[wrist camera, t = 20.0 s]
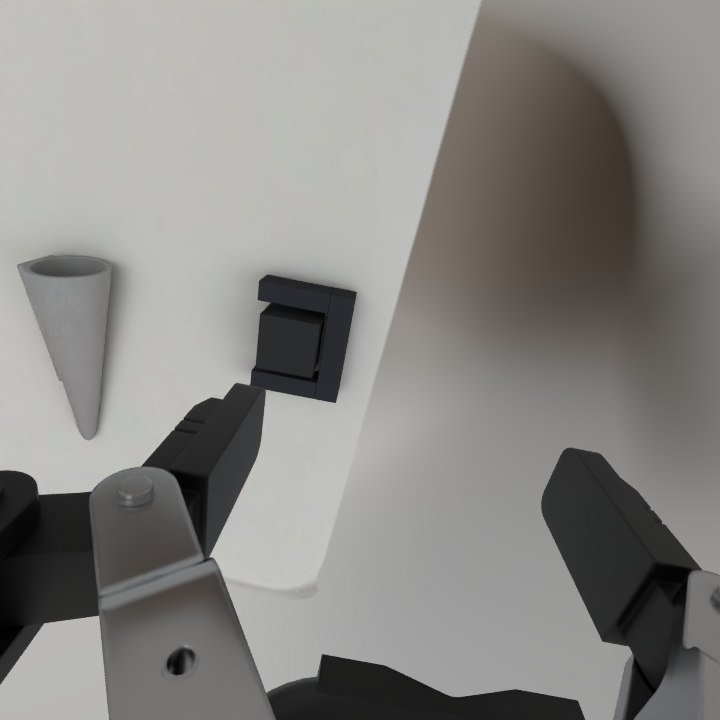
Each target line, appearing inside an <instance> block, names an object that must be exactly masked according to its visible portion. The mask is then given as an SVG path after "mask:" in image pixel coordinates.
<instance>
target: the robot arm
mask: <svg viewBox="0 0 720 720" xmlns="http://www.w3.org/2000/svg"><path fill="white" fill-rule="evenodd" d="M265 396H266V392H265V388H261V387H256V386H251V385H245V384H240V383H236V384H234V386H233V387H232V388H231V389H230V391H229V392H228V393H227V395H226V396H225V397H224V399H223V400H222V399H217V398H212V397H211V398H209V399H207V400H205V401H203V402H201V403H199V404H197V405H195V406H194V407H193V408H192V409H191V410H190V411H189V413H188V414H187V415H186V416H185V417H184V420H182V421H181V422H180V423H179V424H178V425H177V426H176V427H175V430H174V431H172V432H171V433H170V434H169V435H168V436H167V438H166V439H165V440H164V441H163V442H162V443H161V444H160V446H159V447H158V448H157V449H156V450H155V451H154V452H153V453H152V455H151V456H150V457H149V458H148V459H147V460H146V461H145V463H144V464H143V465H142V466H141V467H135V468H129V469H126V470H122V471H119V472H117V473H114V474H112V475H110V476H109V477H107V478H105V479H104V480H102V481H101V482H100V483H99V484H98V485H97V486H96V487H95V488H94V489H93V491H92V492H83V493H66V494H48V495H39V493H38V487H37V483H36V481H35V480H34V479H33V477H31V476H30V475H28V474H25V473H23V472H18V471H9V470H6V471H0V684H1V683H2V681H3V680H4V679H5V677H6V676H7V675H8V673H9V672H10V670H11V669H12V668H13V666H14V665H15V663H16V662H17V661H18V659H19V658H20V656H21V655H22V654H23V652H24V651H25V649H26V648H27V647H28V645H29V644H30V642H31V641H32V640H33V638H34V636H35V635H36V634H37V632H38V631H39V630H40V628H41V627H42V626H43V624H44V623H49V622H56V621H63V620H70V619H78V618H85V617H92V616H99V618H100V629H101V639H102V650H103V660H104V670H105V682H106V692H107V703H108V713H109V720H585V718H584V716H583V713H582V710H581V708H580V705H579V702H578V701H577V700H571V699H566V698H561V697H555V696H549V695H544V694H539V693H533V692H527V691H522V690H516V689H515V690H507V691H501V692H494V693H486V694H480V695H472V696H465V697H451V696H448V695H446V694H444V693H441V692H440V691H437V690H435V689H433V688H431V687H429V686H427V685H425V684H423V683H421V682H419V681H416V680H414V679H412V678H410V677H408V676H406V675H404V674H402V673H400V672H398V671H395V670H393V669H391V668H389V667H387V666H384V665H378V664H373V663H368V662H361V661H356V660H351V659H345V658H340V657H334V656H329V655H323V654H322V657H321V662H320V666H319V670H318V675H317V677H311V678H304V679H300V680H296V681H293V682H289V683H286V684H284V685H282V686H279V687H277V688H275V689H272V690H271V691H269V692H267V693H266V692H265V689H264V686H263V683H262V681H261V678H260V675H259V673H258V670H257V667H256V665H255V662H254V659H253V657H252V654H251V651H250V649H249V646H248V644H247V641H246V638H245V635H244V633H243V630H242V627H241V625H240V622H239V619H238V616H237V614H236V611H235V609H234V606H233V603H232V600H231V598H230V595H229V592H228V590H227V587H226V584H225V582H224V579H223V576H222V574H221V571H220V569H219V566H218V564H217V562H216V561H215V559H214V558H212V557H211V558H209V556H210V554H211V552H212V550H213V548H214V546H215V544H216V542H217V540H218V538H219V535H220V533H221V531H222V529H223V527H224V525H225V523H226V521H227V519H228V517H229V515H230V513H231V510H232V508H233V506H234V504H235V502H236V500H237V498H238V496H239V494H240V492H241V490H242V488H243V486H244V483H245V481H246V479H247V477H248V475H249V473H250V471H251V469H252V467H253V465H254V463H255V460H256V458H257V455H258V451H259V447H260V442H261V435H262V425H263V416H264V406H265ZM541 508H542V514H543V517H544V519H545V521H546V524H547V526H548V528H549V530H550V532H551V534H552V536H553V538H554V540H555V543H556V545H557V547H558V549H559V551H560V553H561V555H562V557H563V559H564V561H565V563H566V566H567V568H568V570H569V572H570V574H571V576H572V578H573V580H574V582H575V585H576V587H577V589H578V591H579V593H580V595H581V597H582V599H583V601H584V603H585V606H586V608H587V610H588V612H589V614H590V616H591V618H592V620H593V622H594V625H595V627H596V629H597V631H598V633H599V635H600V637H601V639H602V641H603V642H608V643H613V644H619V645H624V646H629V647H630V649H631V651H632V655H631V656H630V658H629V659H628V660H627V662H626V664H625V667H624V672H623V676H622V681H621V686H620V690H619V695H618V700H617V704H616V709H615V714H614V719H613V720H720V575H718V574H715V573H712V572H708V571H703V570H702V569H701V568H700V567H699V565H698V564H697V563H696V562H695V561H694V559H693V558H692V557H691V556H690V555H689V553H688V552H687V551H686V550H685V549H684V547H683V546H682V545H681V544H680V542H679V541H678V540H677V539H676V538H675V536H674V535H673V534H672V533H671V531H670V530H669V529H668V528H667V527H666V525H664V524H662V521H661V519H660V518H659V517H658V516H657V514H656V513H655V512H654V511H652V510H650V508H651V507H650V506H649V505H648V504H647V502H646V501H645V500H644V499H643V497H642V496H641V495H640V494H639V493H638V491H636V490H635V489H634V488H633V487H631V486H630V485H629V484H628V483H626V482H625V481H624V480H622V479H621V478H620V477H619V476H618V474H617V473H616V472H615V471H614V469H613V468H612V467H611V466H610V464H609V463H608V462H607V461H606V459H605V458H604V457H603V456H602V455H601V454H599V453H596V452H591V451H585V450H580V449H575V448H567V449H565V450H564V451H563V452H562V454H561V456H560V458H559V460H558V463H557V464H556V467H555V469H554V471H553V473H552V475H551V478H550V480H549V482H548V484H547V486H546V488H545V490H544V493H543V496H542V502H541Z"/></svg>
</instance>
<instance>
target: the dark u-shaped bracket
mask: <svg viewBox="0 0 720 720" xmlns="http://www.w3.org/2000/svg"><path fill="white" fill-rule="evenodd" d="M356 294H357V292H354V291H349V290H343V289H338V288H333V287H328V286H323V285H318V284H313V283H307V282H302V281H297V280H292V279H287V278H282V277H277V276H272V275H266V276H265V277H264V278H262V279H261V280H260V281H259V291H258V300H261V301H266V302H271V303H276V304H281V305H286V306H291V307H297V308H302V309H307V310H312V311H317V312H322V313H328V316H327V323H326V329H325V335H324V342H323V348H322V354H321V361H320V367H319V371H314V374H313V376H312V378H308V377H303V376H298V375H293V374H287V373H282V372H277V371H272V370H266V369H261V368H256V365H255V367H254V368H253V370H252V372H251V384H250V385H251V386H256V387H261V388H265V390H271V391H276V392H281V393H286V394H291V395H297V396H302V397H307V398H312V399H314V398H315V399H317V400H322V401H328V402H333V403H336V400H337V395H338V391H339V386H340V380H341V375H342V370H343V364H344V359H345V353H346V348H347V342H348V337H349V332H350V326H351V321H352V315H353V310H354V304H355V299H356Z"/></svg>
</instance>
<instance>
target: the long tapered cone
mask: <svg viewBox="0 0 720 720" xmlns="http://www.w3.org/2000/svg"><path fill="white" fill-rule="evenodd" d="M17 267H18V270H19V273H20V276H21V278H22V281H23V284H24V286H25V289H26V292H27V295H28V297H29V300H30V303H31V305H32V308H33V311H34V314H35V316H36V319H37V322H38V324H39V327H40V330H41V333H42V335H43V338H44V341H45V343H46V346H47V349H48V352H49V354H50V357H51V360H52V362H53V365H54V368H55V371H56V373H57V376H58V379H59V381H62V382H63V385H64V388H65V391H66V394H67V397H68V400H69V403H70V405H71V408H72V411H73V414H74V417H75V420H76V423H77V427H78V429H79V432H80V433H81V435H82V437H83V438H84V439H85V440H91V439H93V438H94V436H95V434H96V427H97V420H98V412H99V401H100V390H101V379H102V368H103V357H104V346H105V336H106V326H107V313H108V303H109V295H110V284H111V272H112V265H111V264H110V263H109V262H107V261H105V260H102V259H98V258H93V257H85V256H53V255H50V256H46V257H42V258H39V259H35V260H31V261H28V262H24V263H21V264H18V265H17Z"/></svg>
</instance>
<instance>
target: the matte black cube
mask: <svg viewBox="0 0 720 720" xmlns="http://www.w3.org/2000/svg"><path fill="white" fill-rule="evenodd" d="M324 320H325V313H321V312H316V311H311V310H306V309H301V308H295V307H290V306H285V305H280V304H275V303H271V304H270V305H269V306H268V307H267V308H266V309H265V310H264V311H263V312H262V313H261V314H260V322H259V334H258V345H257V357H256V368H261V369H266V370H272V371H277V372H282V373H287V374H293V375H298V376H303V377H308V378H312V376H313V374H314V371H315V368H316V366H317V363H318V359H319V352H320V346H321V339H322V333H323V326H324Z"/></svg>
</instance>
